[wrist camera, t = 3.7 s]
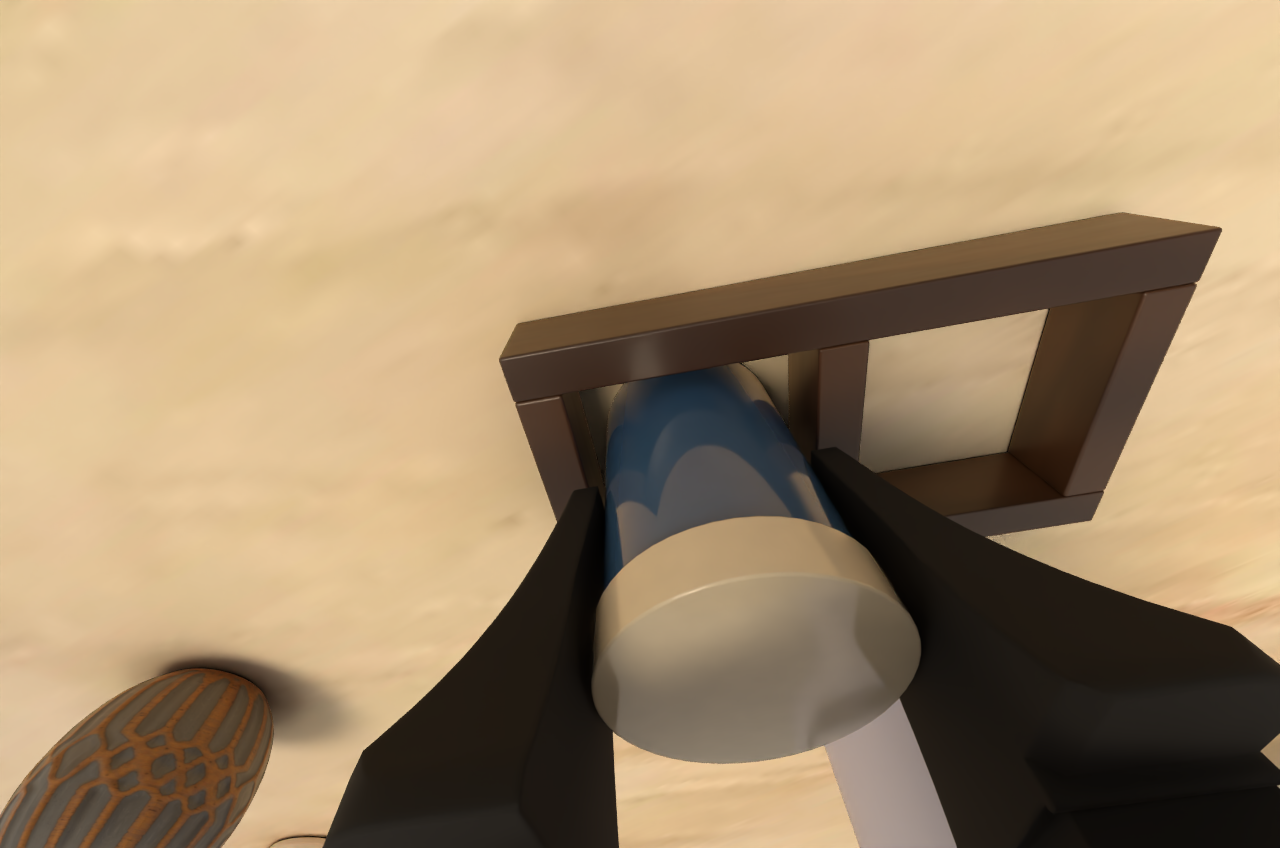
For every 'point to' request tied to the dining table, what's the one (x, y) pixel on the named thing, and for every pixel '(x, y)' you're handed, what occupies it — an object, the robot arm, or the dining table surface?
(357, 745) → the dining table surface
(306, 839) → the cup
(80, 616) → the dining table surface
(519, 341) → the jar stand
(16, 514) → the dining table surface
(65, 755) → the vase
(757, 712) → the jar
